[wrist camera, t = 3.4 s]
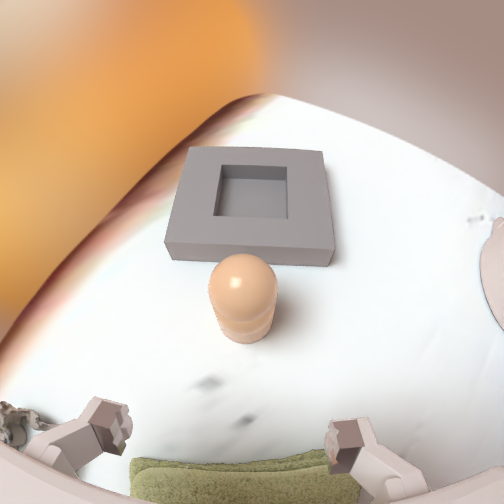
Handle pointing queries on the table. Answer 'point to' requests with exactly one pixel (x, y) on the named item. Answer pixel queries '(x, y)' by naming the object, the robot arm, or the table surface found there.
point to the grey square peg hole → (252, 206)
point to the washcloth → (243, 482)
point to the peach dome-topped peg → (243, 297)
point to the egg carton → (18, 424)
